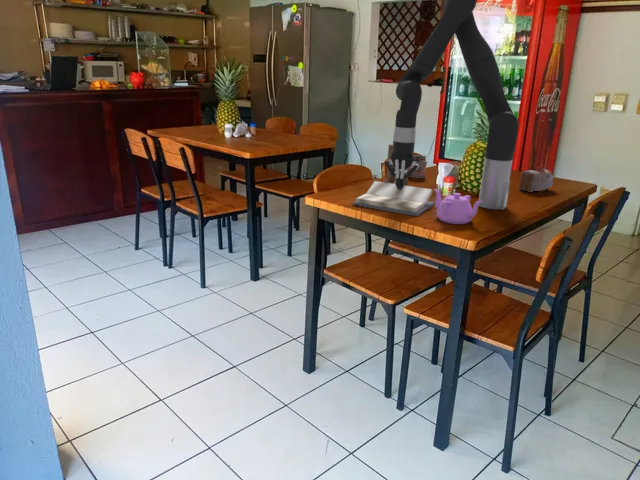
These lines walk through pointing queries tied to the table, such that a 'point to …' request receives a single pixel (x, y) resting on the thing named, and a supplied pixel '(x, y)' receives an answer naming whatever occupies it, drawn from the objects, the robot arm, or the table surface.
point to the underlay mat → (426, 207)
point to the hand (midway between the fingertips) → (399, 188)
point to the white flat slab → (390, 202)
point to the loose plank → (400, 192)
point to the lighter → (422, 169)
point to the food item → (536, 179)
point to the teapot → (455, 208)
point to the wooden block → (392, 178)
